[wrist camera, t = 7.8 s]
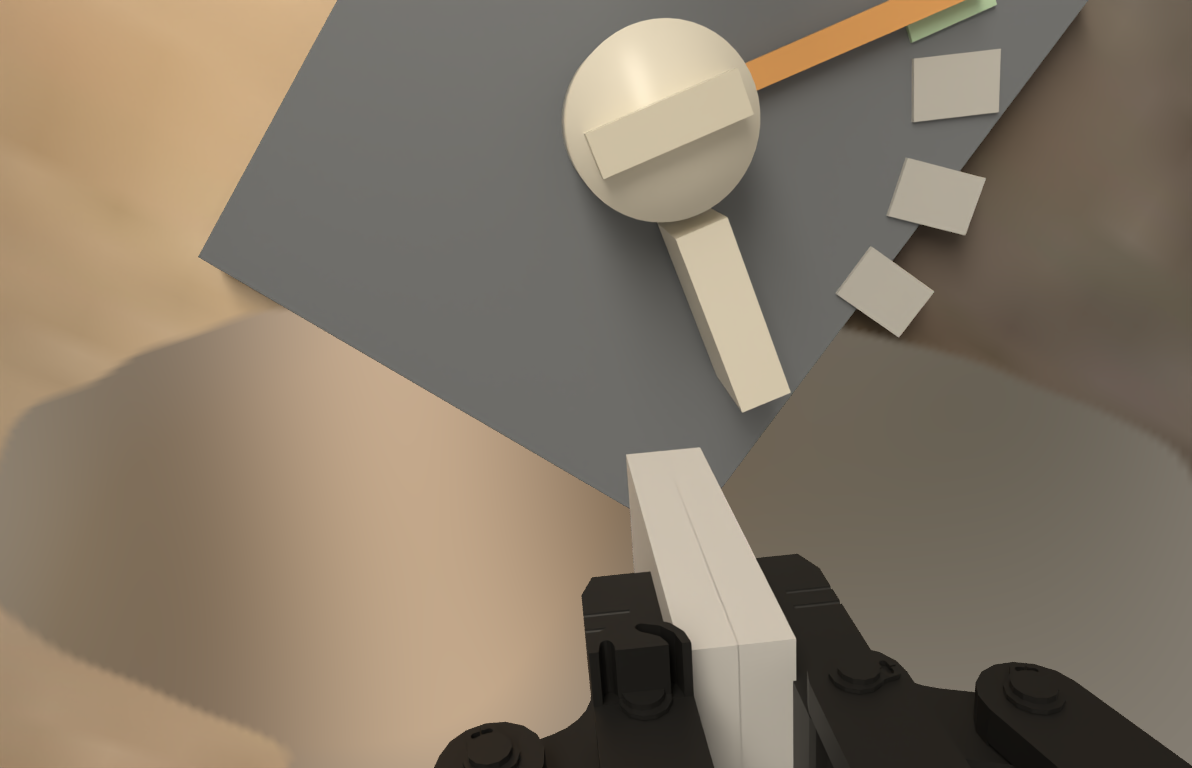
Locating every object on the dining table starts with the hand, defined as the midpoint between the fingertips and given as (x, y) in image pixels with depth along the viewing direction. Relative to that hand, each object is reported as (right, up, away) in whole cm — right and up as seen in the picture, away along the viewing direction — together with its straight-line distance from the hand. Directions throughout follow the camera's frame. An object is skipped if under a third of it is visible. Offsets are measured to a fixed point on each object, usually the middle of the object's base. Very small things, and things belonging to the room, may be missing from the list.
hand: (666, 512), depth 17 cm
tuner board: (+1, +12, +15) cm, 19 cm away
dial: (+6, +11, +14) cm, 19 cm away
